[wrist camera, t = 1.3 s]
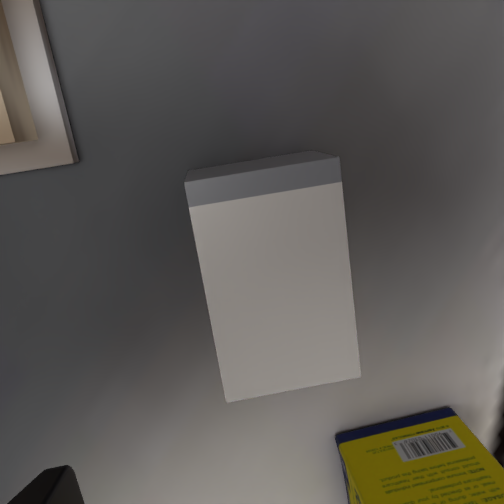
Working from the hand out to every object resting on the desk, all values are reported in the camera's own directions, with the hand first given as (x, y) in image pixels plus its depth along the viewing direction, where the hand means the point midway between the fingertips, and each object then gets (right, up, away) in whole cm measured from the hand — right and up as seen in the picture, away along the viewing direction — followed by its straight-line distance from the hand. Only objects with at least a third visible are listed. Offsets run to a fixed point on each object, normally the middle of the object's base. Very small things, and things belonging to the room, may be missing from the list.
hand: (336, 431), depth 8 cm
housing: (-1, +3, +12) cm, 12 cm away
